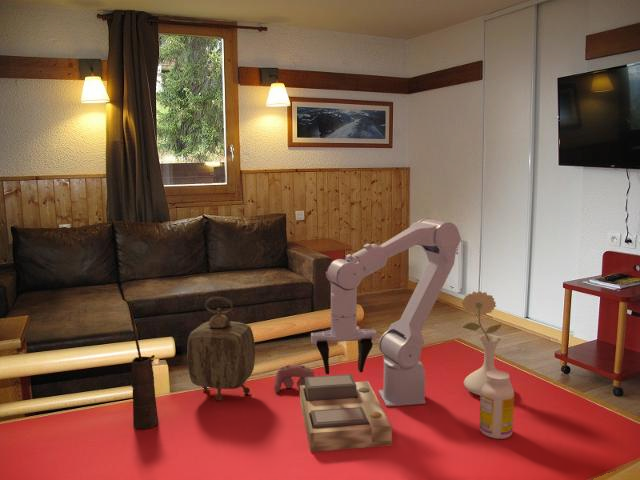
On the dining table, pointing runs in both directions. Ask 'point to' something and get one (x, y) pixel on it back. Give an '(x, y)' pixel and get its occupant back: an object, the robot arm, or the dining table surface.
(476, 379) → the flower in vase
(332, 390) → the key grey
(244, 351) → the tabletop clock
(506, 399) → the supplement bottle
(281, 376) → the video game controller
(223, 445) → the dining table surface
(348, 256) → the robot arm
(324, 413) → the brown block
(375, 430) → the switch panel
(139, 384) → the butter churn
